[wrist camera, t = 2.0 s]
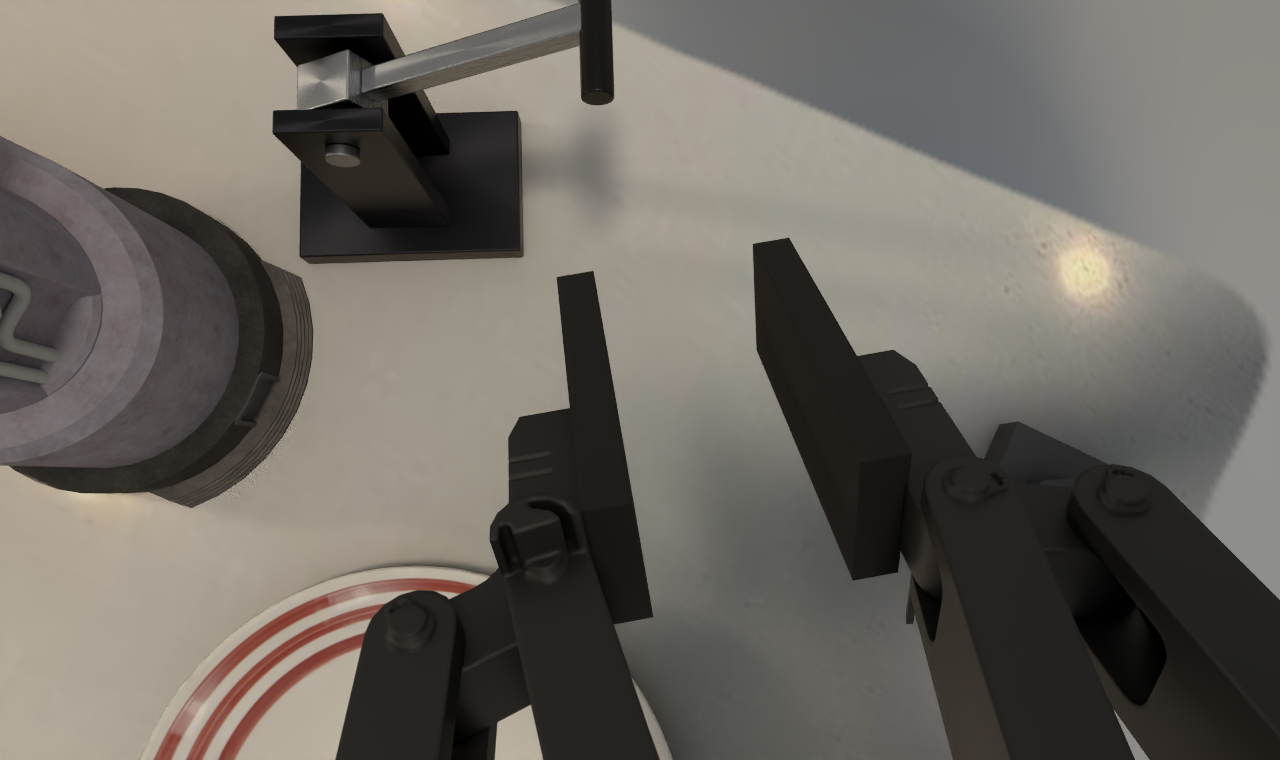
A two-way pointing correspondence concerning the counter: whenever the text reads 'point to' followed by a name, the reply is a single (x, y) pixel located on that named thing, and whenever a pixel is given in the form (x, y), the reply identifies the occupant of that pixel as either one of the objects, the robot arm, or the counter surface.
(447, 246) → the bracket
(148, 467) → the grey piece
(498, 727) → the dinner plate
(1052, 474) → the button block
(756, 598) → the counter surface
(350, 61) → the lever
